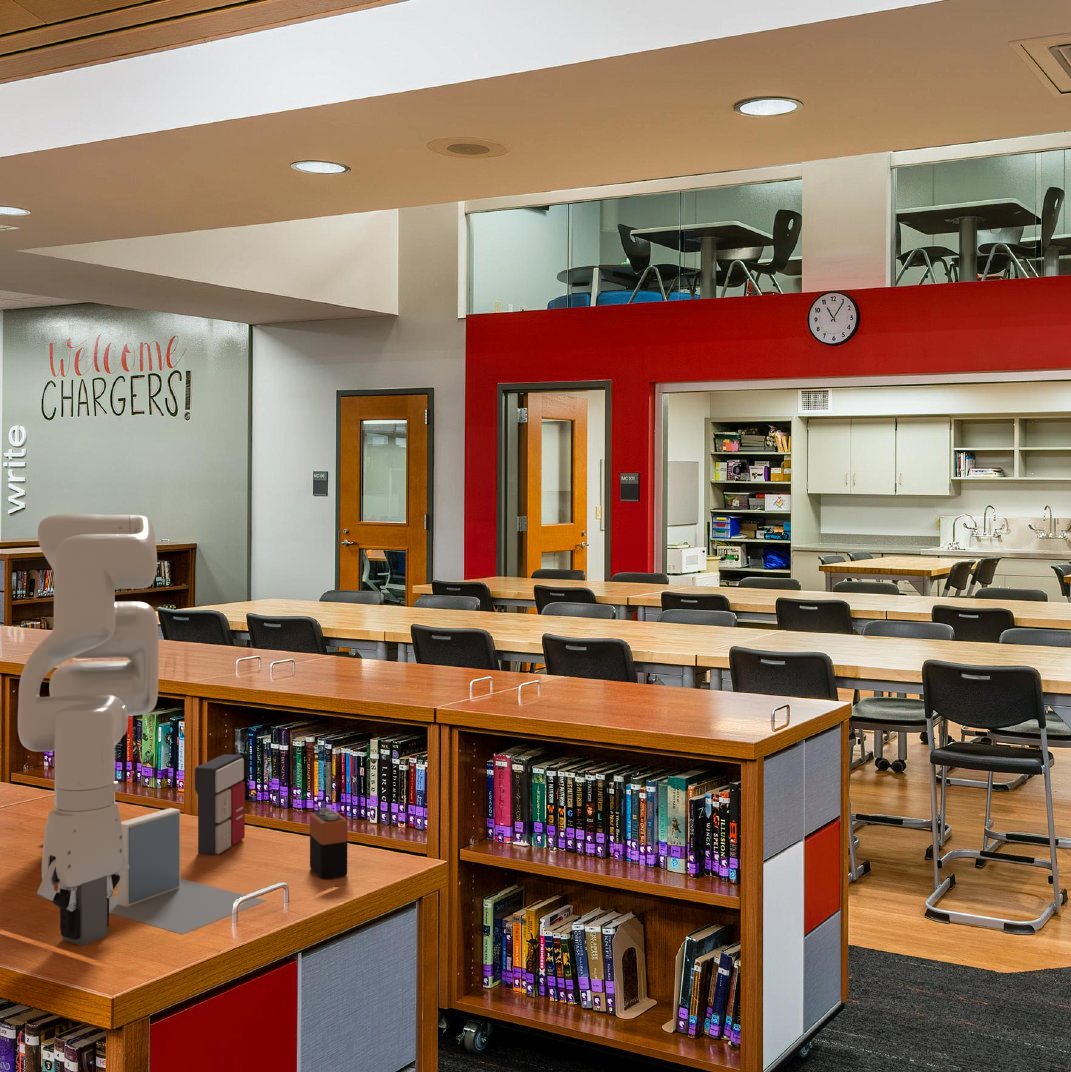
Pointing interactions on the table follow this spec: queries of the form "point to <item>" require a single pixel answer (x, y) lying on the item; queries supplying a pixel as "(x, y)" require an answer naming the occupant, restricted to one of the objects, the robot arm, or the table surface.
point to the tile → (150, 856)
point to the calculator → (220, 803)
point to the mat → (183, 907)
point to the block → (92, 911)
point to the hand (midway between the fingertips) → (85, 930)
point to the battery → (328, 844)
